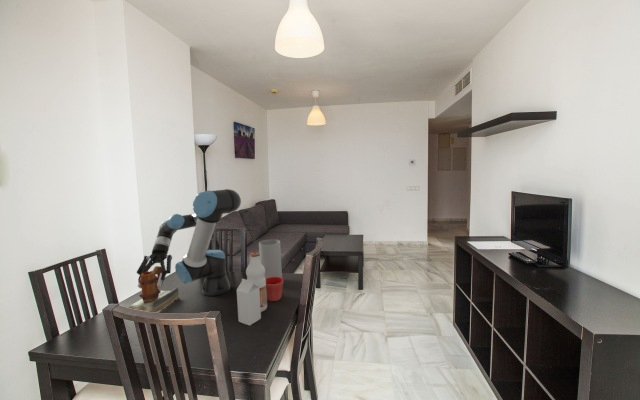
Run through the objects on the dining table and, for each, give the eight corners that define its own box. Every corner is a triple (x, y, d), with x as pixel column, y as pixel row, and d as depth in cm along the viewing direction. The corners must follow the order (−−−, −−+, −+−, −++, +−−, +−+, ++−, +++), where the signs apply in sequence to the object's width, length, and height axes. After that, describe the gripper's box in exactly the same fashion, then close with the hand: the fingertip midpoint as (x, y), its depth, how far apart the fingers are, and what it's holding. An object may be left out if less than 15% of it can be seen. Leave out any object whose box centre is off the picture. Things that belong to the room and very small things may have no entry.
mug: (151, 304, 141) (147, 275, 139) (136, 304, 142) (132, 274, 140) (171, 291, 155) (168, 264, 153) (157, 291, 156) (154, 264, 155)
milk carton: (249, 326, 127) (247, 284, 125) (238, 321, 131) (235, 281, 129) (261, 318, 133) (259, 278, 131) (250, 314, 137) (247, 276, 135)
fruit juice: (270, 308, 142) (268, 253, 139) (253, 315, 136) (249, 257, 133) (261, 302, 149) (258, 249, 146) (244, 308, 144) (241, 253, 140)
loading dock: (178, 298, 157) (177, 287, 156) (156, 315, 139) (155, 303, 139) (154, 297, 159) (153, 287, 158) (129, 314, 141) (128, 302, 140)
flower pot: (288, 295, 157) (287, 277, 156) (276, 304, 147) (276, 285, 146) (271, 292, 161) (270, 275, 160) (259, 300, 151) (258, 282, 150)
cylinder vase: (256, 285, 171) (254, 244, 169) (268, 277, 183) (266, 238, 180) (275, 288, 167) (273, 245, 164) (285, 280, 178) (284, 240, 175)
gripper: (183, 249, 162) (173, 288, 148) (144, 251, 161) (130, 290, 147) (179, 242, 156) (168, 282, 142) (138, 244, 155) (123, 285, 141)
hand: (149, 286), depth 145 cm, fingers open, 8 cm apart
